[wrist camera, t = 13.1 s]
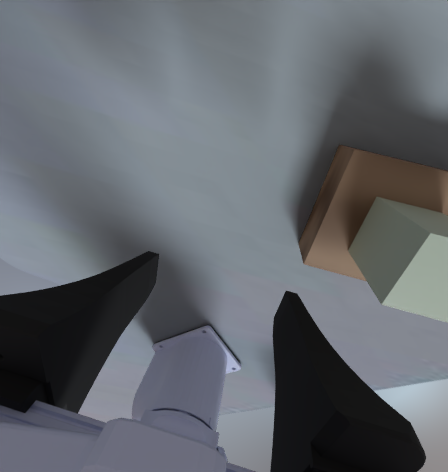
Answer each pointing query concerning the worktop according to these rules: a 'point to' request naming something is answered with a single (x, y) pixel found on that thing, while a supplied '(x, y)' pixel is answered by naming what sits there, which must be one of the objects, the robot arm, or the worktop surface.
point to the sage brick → (405, 257)
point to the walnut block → (363, 203)
